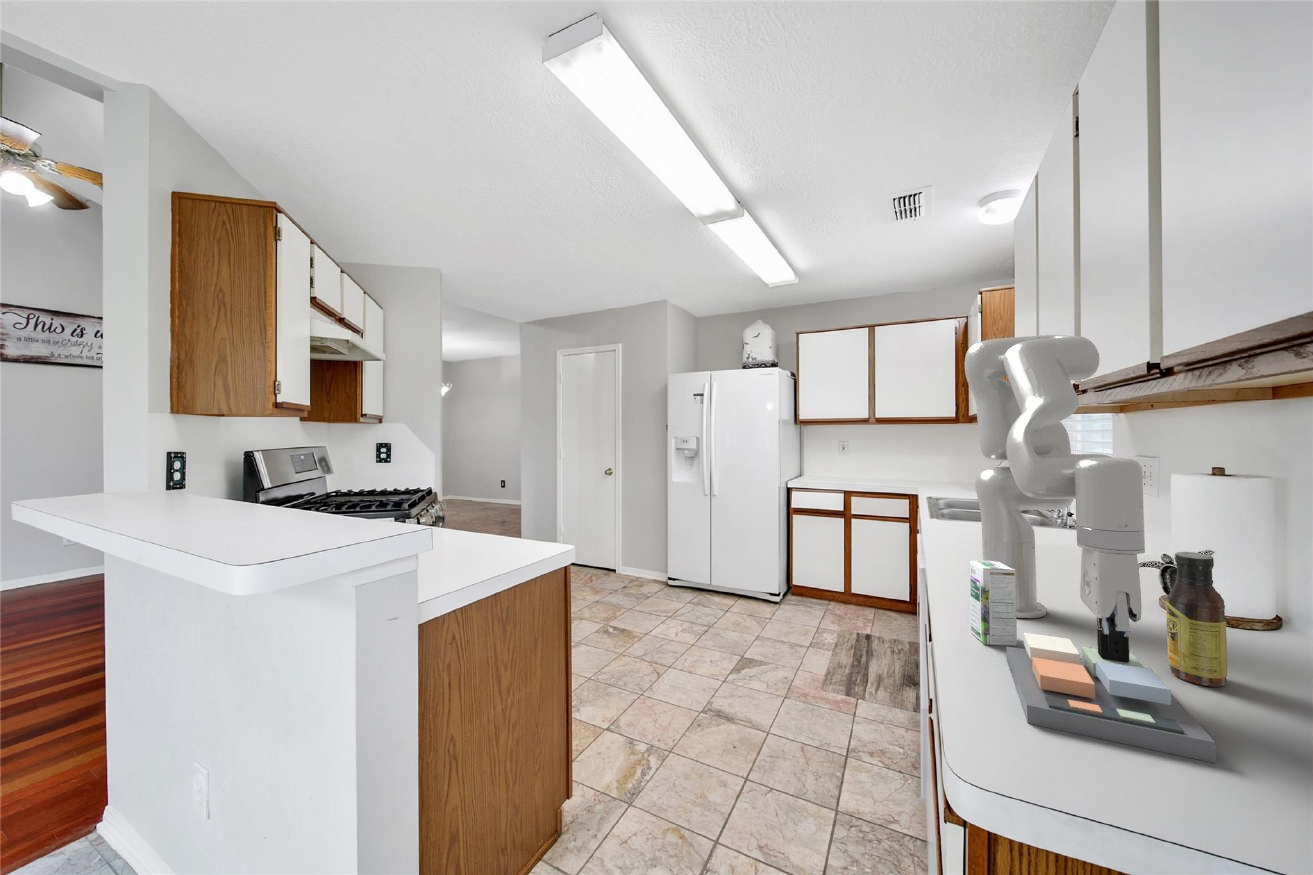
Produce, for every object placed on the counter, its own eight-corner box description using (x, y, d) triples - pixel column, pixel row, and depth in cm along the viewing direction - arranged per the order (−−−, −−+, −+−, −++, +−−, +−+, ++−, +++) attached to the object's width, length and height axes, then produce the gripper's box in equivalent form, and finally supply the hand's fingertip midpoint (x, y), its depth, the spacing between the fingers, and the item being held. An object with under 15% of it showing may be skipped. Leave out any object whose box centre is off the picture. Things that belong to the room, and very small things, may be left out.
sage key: (1082, 659, 77) (1081, 646, 77) (1132, 666, 74) (1132, 654, 74) (1093, 676, 72) (1092, 662, 72) (1148, 685, 69) (1147, 671, 69)
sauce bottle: (1171, 665, 80) (1167, 546, 80) (1229, 679, 75) (1226, 553, 75) (1164, 678, 76) (1161, 554, 76) (1226, 694, 71) (1222, 561, 71)
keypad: (1006, 660, 83) (1006, 642, 83) (1148, 683, 74) (1148, 664, 74) (1027, 722, 66) (1026, 700, 66) (1216, 763, 57) (1215, 737, 57)
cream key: (1023, 644, 81) (1023, 632, 81) (1069, 651, 78) (1069, 638, 78) (1030, 659, 75) (1030, 646, 75) (1080, 667, 72) (1079, 654, 72)
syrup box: (969, 632, 95) (967, 560, 95) (1002, 633, 94) (1000, 560, 94) (984, 645, 89) (981, 568, 89) (1019, 646, 88) (1016, 568, 88)
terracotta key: (1032, 669, 74) (1032, 657, 74) (1083, 678, 71) (1082, 665, 71) (1040, 688, 69) (1039, 674, 69) (1095, 698, 66) (1094, 684, 66)
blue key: (1096, 674, 70) (1095, 660, 70) (1152, 683, 67) (1151, 669, 67) (1109, 694, 65) (1109, 679, 65) (1171, 704, 62) (1170, 689, 62)
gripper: (1065, 528, 81) (1068, 635, 81) (1091, 547, 68) (1095, 675, 68) (1125, 531, 77) (1128, 643, 77) (1165, 552, 64) (1169, 687, 64)
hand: (1113, 658), depth 73 cm, fingers closed
